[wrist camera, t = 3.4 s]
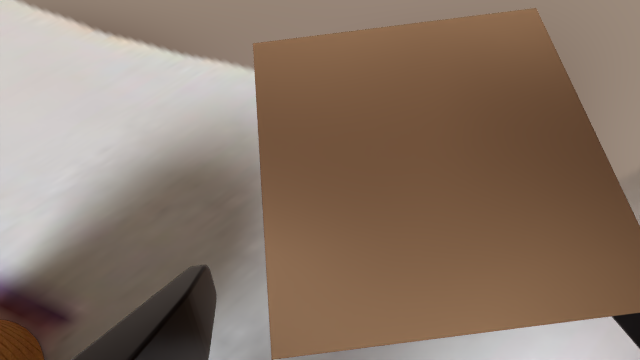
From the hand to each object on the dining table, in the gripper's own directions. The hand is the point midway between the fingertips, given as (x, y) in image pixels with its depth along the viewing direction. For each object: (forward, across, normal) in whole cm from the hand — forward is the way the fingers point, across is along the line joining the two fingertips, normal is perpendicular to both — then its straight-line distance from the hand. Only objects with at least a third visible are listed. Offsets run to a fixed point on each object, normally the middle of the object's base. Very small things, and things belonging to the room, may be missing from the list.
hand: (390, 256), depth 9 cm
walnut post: (+6, 0, +6) cm, 8 cm away
